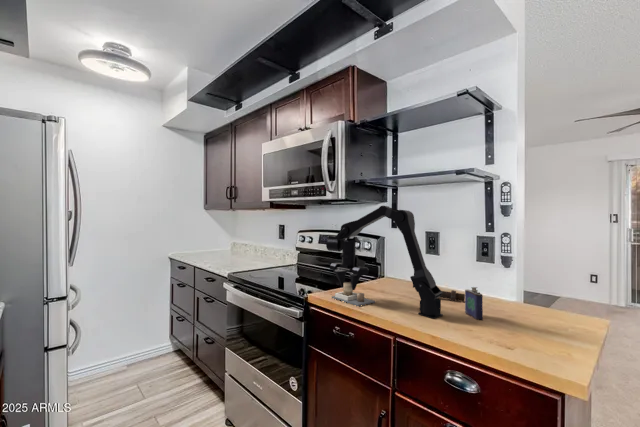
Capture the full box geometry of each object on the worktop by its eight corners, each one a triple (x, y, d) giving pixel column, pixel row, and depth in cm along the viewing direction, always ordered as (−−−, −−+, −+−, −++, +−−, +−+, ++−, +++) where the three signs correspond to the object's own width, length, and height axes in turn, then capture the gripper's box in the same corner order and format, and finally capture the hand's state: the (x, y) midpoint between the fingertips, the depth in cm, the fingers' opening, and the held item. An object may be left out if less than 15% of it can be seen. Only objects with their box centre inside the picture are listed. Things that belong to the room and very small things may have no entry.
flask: (463, 312, 117) (463, 284, 117) (471, 312, 117) (471, 284, 117) (477, 320, 108) (477, 289, 108) (485, 320, 108) (485, 289, 108)
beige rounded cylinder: (354, 297, 134) (354, 283, 134) (347, 298, 131) (348, 284, 131) (347, 295, 137) (348, 281, 137) (341, 296, 134) (341, 282, 134)
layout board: (375, 303, 128) (375, 293, 128) (357, 306, 122) (358, 297, 122) (348, 295, 141) (348, 286, 141) (331, 298, 135) (331, 289, 135)
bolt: (464, 306, 133) (427, 301, 140) (464, 298, 137) (428, 293, 144) (464, 296, 131) (427, 291, 137) (465, 288, 135) (428, 283, 141)
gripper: (377, 253, 132) (377, 290, 132) (347, 250, 147) (347, 283, 146) (359, 254, 125) (358, 293, 125) (329, 250, 140) (328, 285, 139)
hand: (348, 288), depth 134 cm, fingers open, 6 cm apart
